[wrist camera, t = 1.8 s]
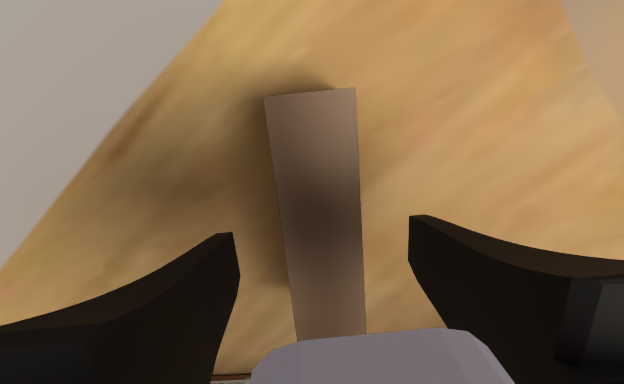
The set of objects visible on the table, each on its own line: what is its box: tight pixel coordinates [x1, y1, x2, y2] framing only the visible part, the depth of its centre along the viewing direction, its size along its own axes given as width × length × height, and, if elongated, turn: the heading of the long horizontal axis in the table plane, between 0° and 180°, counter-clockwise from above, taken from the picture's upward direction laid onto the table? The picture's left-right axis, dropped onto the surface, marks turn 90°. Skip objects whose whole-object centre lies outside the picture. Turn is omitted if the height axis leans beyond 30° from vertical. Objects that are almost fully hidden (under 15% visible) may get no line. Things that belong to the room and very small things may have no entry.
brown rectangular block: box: [263, 87, 366, 342], centre depth 15 cm, size 4×12×5 cm, turn 5°
